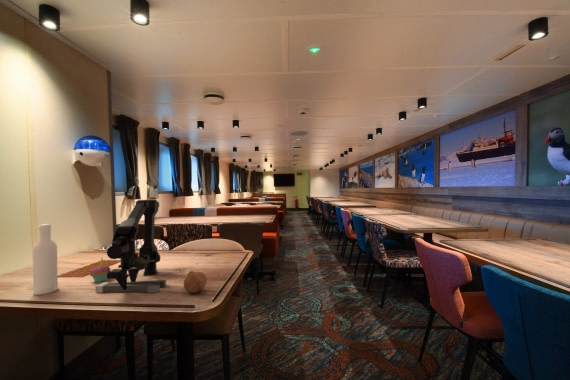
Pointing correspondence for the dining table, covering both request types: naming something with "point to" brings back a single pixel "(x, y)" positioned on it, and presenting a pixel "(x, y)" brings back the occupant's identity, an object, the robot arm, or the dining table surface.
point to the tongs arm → (147, 282)
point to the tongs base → (127, 288)
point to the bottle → (45, 262)
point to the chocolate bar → (88, 269)
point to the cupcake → (100, 272)
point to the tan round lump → (195, 282)
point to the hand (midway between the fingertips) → (129, 286)
